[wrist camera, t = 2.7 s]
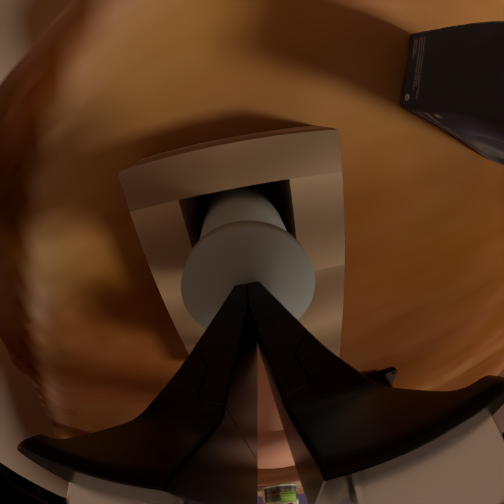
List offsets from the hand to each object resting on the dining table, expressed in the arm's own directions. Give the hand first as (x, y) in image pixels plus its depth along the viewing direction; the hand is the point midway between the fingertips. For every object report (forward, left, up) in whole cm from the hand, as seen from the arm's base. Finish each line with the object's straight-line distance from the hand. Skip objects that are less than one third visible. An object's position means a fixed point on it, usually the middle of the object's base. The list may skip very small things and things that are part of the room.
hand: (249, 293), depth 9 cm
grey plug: (0, 0, -8) cm, 8 cm away
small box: (+7, -17, -8) cm, 20 cm away
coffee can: (-81, +5, -8) cm, 82 cm away
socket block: (-4, 0, -8) cm, 9 cm away
